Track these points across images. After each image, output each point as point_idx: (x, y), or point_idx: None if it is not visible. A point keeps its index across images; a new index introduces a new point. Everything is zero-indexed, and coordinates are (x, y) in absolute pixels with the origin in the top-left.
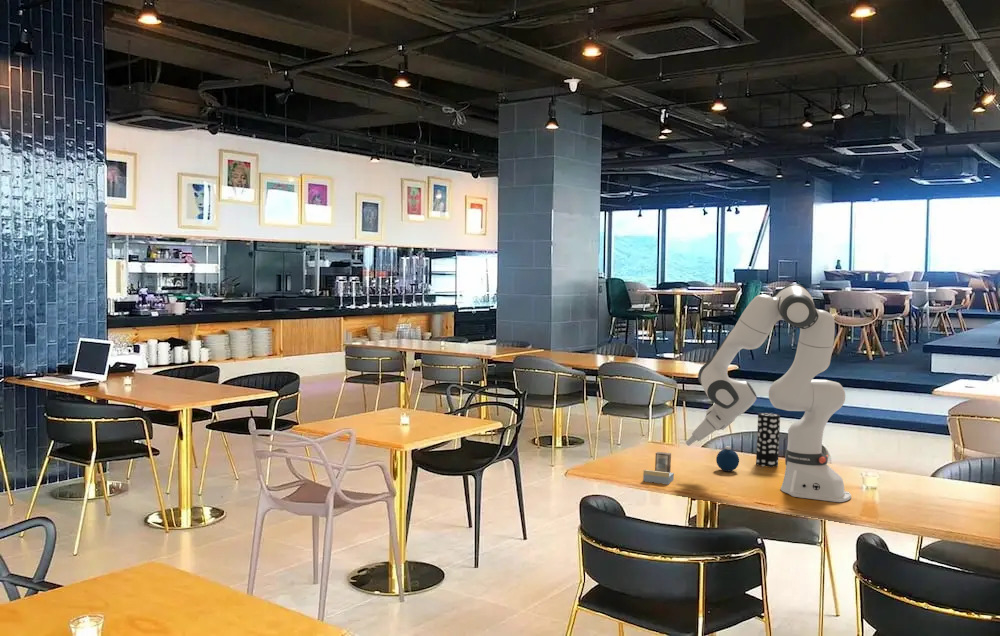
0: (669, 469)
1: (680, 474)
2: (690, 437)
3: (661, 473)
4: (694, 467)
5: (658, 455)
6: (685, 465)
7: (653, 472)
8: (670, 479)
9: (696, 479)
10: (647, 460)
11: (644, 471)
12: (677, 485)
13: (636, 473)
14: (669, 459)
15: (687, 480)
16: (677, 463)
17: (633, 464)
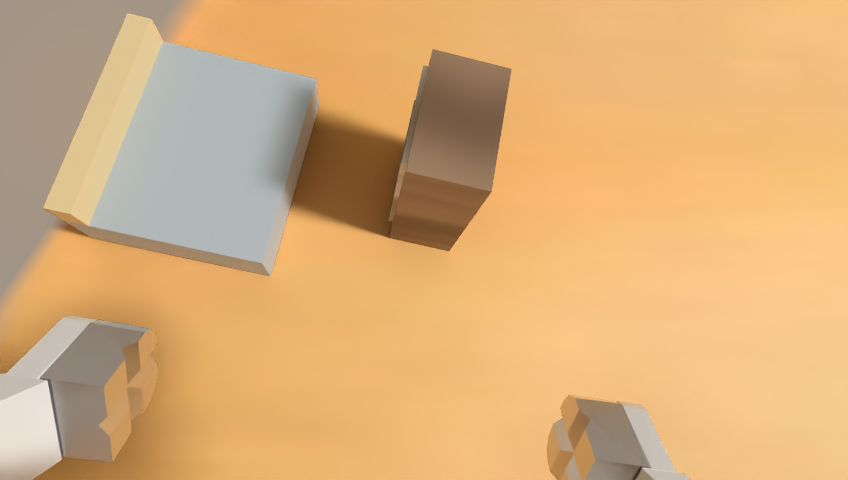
0: (423, 230)
1: (487, 327)
2: (573, 400)
3: (74, 152)
4: (781, 433)
5: (420, 84)
6: (811, 360)
7: (101, 90)
8: (154, 246)
9: (351, 463)
10: (819, 104)
11: (128, 26)
12: (78, 308)
13: (400, 33)
14: (421, 197)
15: (289, 387)
16: (843, 300)
17: (658, 22)
